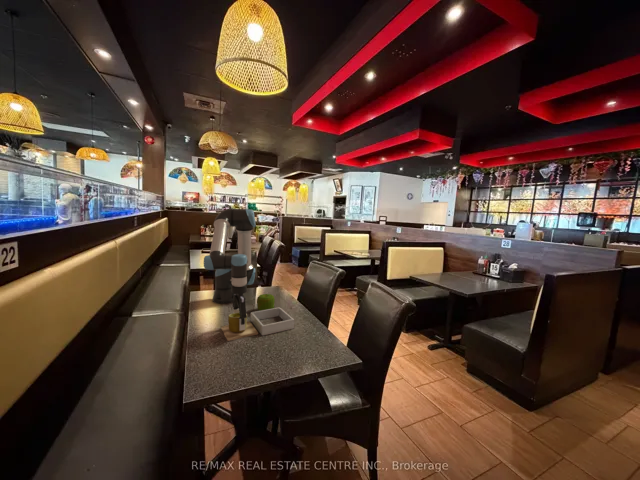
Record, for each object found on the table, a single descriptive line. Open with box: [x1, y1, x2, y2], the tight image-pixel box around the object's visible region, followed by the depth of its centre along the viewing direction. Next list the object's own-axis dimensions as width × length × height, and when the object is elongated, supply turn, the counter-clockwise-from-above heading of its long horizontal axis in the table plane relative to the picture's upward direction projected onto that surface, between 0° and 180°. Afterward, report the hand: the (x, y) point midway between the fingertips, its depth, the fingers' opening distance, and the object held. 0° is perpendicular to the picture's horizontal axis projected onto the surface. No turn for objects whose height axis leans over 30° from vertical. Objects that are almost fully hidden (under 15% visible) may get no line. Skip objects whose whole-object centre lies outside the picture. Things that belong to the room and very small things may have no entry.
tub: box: [250, 306, 295, 336], centre depth 143 cm, size 20×18×5 cm
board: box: [220, 320, 259, 342], centre depth 134 cm, size 15×15×1 cm
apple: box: [256, 293, 276, 311], centre depth 163 cm, size 11×11×11 cm
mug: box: [227, 312, 248, 333], centre depth 134 cm, size 12×10×10 cm
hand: (239, 325), depth 134 cm, fingers closed on mug, 11 cm apart
